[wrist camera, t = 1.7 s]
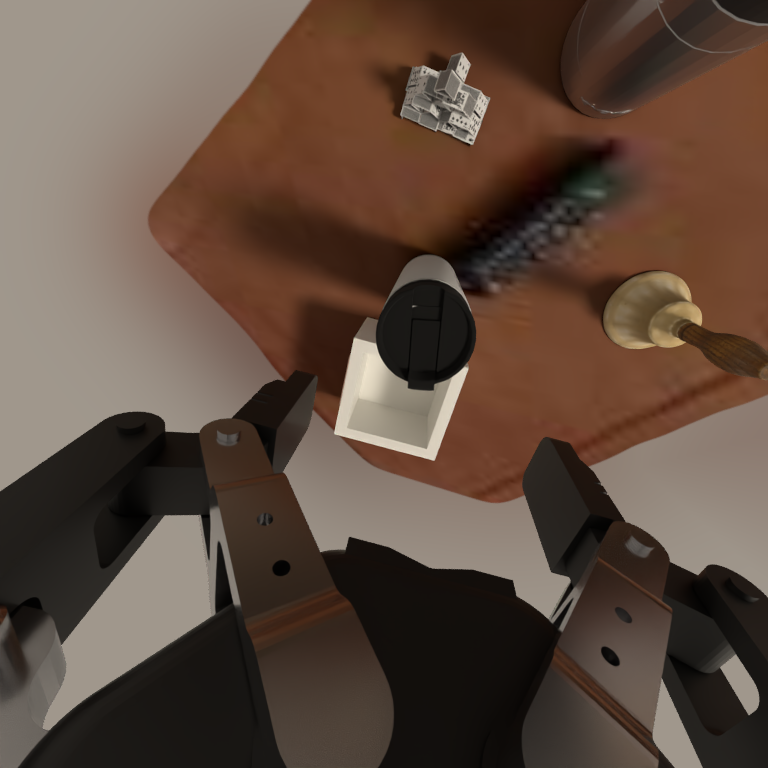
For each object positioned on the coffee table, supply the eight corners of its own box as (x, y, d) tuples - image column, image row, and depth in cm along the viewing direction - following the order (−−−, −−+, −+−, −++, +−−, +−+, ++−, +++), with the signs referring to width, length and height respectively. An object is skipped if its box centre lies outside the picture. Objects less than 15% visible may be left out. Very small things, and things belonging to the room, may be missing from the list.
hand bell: (675, 349, 39) (815, 425, 25) (594, 347, 40) (685, 420, 26) (701, 270, 36) (882, 306, 22) (613, 270, 37) (729, 305, 23)
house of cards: (534, 42, 31) (565, -8, 24) (486, 156, 34) (500, 141, 27) (436, -1, 30) (438, -66, 23) (398, 118, 34) (390, 93, 27)
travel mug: (397, 313, 41) (371, 388, 23) (400, 252, 39) (374, 284, 20) (452, 317, 41) (470, 396, 23) (459, 255, 38) (486, 290, 20)
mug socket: (364, 316, 42) (351, 337, 35) (462, 342, 42) (468, 368, 35) (346, 399, 47) (331, 433, 40) (433, 423, 47) (434, 460, 40)
